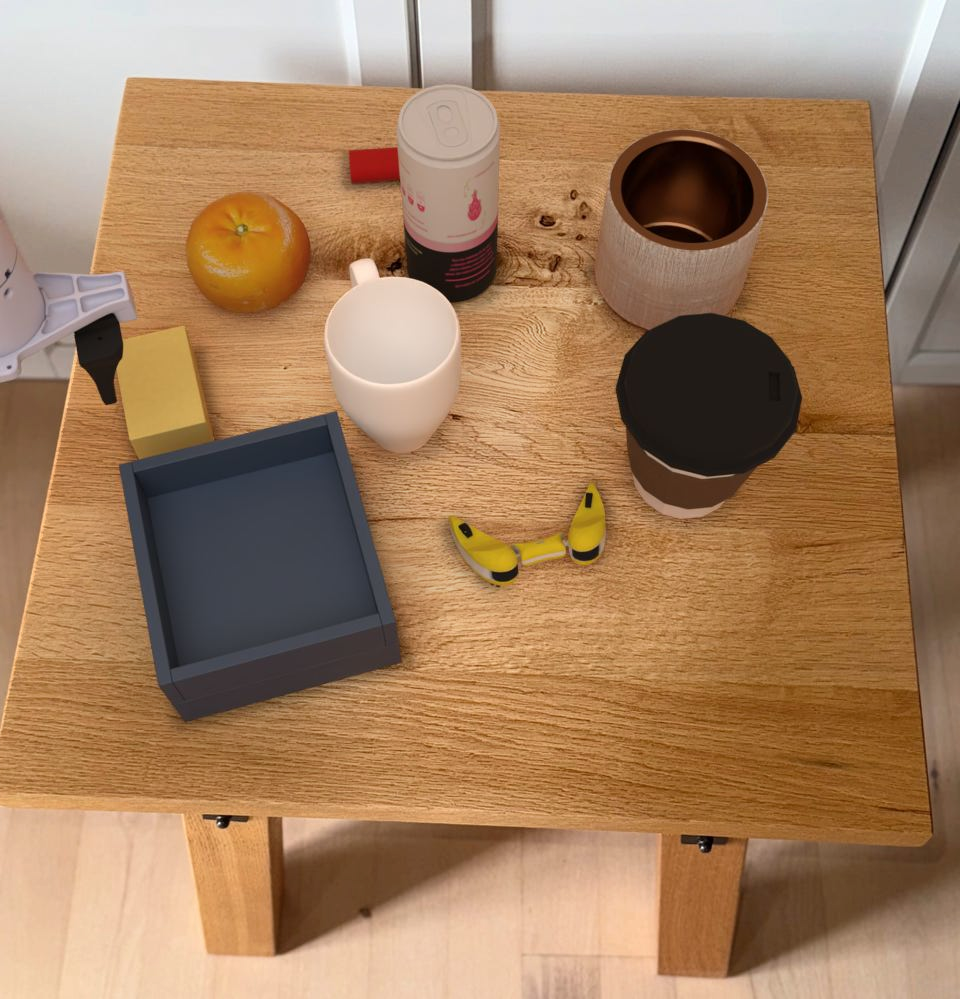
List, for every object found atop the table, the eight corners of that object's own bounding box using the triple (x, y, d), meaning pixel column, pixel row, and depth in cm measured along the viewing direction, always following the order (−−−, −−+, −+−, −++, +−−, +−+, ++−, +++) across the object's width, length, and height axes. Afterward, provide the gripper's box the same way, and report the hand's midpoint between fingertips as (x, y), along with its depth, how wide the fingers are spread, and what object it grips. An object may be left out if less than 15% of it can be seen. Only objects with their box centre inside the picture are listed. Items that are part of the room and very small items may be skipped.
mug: (479, 459, 81) (479, 365, 71) (361, 494, 80) (344, 404, 70) (424, 321, 86) (417, 215, 76) (312, 352, 85) (290, 249, 75)
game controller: (475, 611, 75) (469, 572, 73) (451, 545, 80) (445, 506, 78) (626, 573, 76) (625, 533, 74) (594, 510, 81) (592, 470, 79)
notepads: (142, 466, 81) (129, 440, 78) (124, 370, 84) (111, 341, 81) (216, 448, 82) (205, 421, 79) (195, 353, 85) (184, 324, 82)
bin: (185, 722, 73) (157, 685, 67) (146, 515, 79) (118, 464, 73) (402, 662, 75) (395, 621, 68) (347, 464, 81) (336, 410, 75)
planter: (683, 198, 92) (705, 104, 83) (771, 297, 88) (804, 209, 79) (564, 257, 89) (574, 166, 81) (649, 362, 85) (669, 278, 76)
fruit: (165, 308, 83) (203, 212, 78) (177, 246, 89) (213, 153, 84) (282, 350, 86) (325, 259, 81) (285, 286, 92) (326, 199, 88)
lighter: (348, 146, 92) (452, 139, 93) (350, 158, 93) (452, 151, 94) (350, 174, 91) (455, 167, 91) (351, 186, 92) (455, 179, 93)
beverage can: (483, 227, 90) (485, 73, 77) (506, 296, 88) (512, 148, 74) (398, 245, 90) (385, 92, 76) (419, 315, 87) (409, 169, 73)
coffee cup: (760, 415, 83) (803, 311, 72) (764, 559, 78) (810, 471, 67) (602, 403, 83) (621, 298, 73) (595, 546, 78) (615, 456, 68)
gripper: (-189, 361, 57) (-74, 492, 69) (116, 292, 59) (176, 432, 71) (-194, 248, 60) (-83, 392, 72) (95, 186, 62) (157, 337, 74)
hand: (45, 405), depth 72 cm, fingers open, 7 cm apart
